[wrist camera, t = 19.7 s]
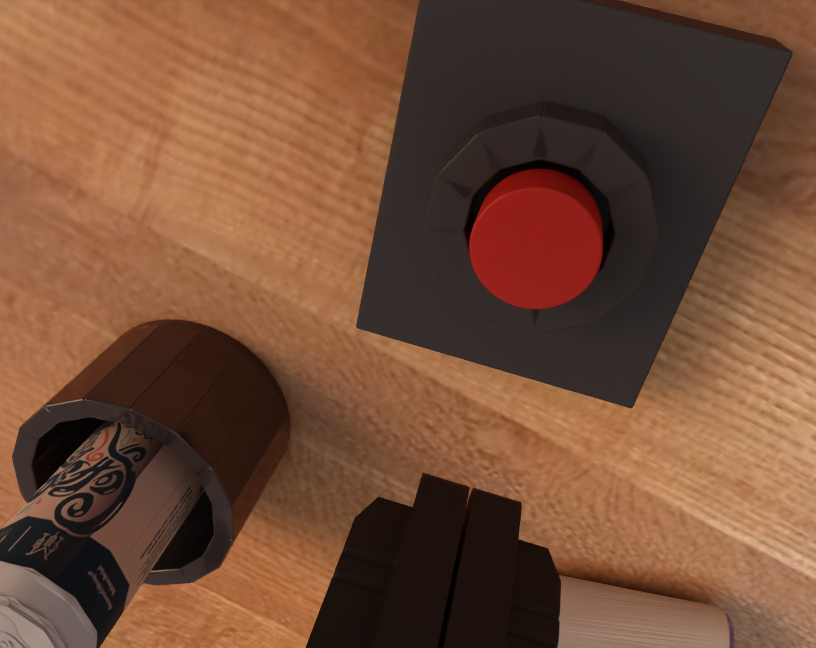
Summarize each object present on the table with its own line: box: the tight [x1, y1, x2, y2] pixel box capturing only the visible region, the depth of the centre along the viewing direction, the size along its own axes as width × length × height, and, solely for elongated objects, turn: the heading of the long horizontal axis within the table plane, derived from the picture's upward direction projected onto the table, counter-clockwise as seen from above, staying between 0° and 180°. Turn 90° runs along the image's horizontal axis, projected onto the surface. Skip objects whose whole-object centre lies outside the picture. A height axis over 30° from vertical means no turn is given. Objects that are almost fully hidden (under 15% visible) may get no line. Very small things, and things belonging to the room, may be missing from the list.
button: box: [469, 169, 603, 309], centre depth 21 cm, size 4×4×2 cm
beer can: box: [0, 420, 205, 648], centre depth 27 cm, size 5×5×12 cm
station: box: [356, 0, 793, 408], centre depth 23 cm, size 12×10×4 cm
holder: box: [12, 320, 290, 585], centre depth 30 cm, size 9×9×6 cm
